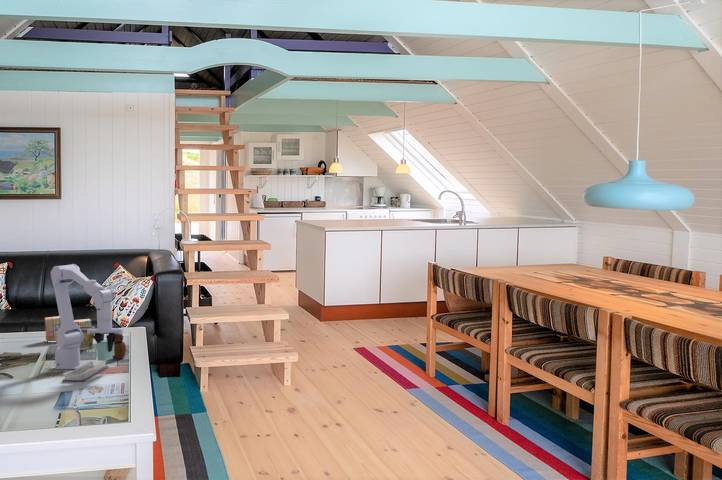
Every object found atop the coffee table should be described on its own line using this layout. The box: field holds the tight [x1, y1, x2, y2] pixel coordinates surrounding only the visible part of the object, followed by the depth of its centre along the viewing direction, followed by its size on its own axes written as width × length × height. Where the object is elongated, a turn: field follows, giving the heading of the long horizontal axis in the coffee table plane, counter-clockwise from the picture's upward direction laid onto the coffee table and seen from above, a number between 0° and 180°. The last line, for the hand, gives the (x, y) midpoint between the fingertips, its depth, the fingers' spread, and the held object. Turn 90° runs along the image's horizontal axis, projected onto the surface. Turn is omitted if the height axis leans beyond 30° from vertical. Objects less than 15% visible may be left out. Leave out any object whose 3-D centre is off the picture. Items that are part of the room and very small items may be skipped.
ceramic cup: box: [79, 325, 96, 351], centre depth 346 cm, size 13×10×10 cm
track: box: [62, 361, 109, 383], centre depth 299 cm, size 9×22×3 cm, turn 175°
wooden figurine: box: [111, 325, 127, 360], centre depth 325 cm, size 7×6×15 cm
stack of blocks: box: [44, 315, 93, 341], centre depth 368 cm, size 21×6×12 cm, turn 119°
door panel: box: [96, 338, 114, 362], centre depth 298 cm, size 3×9×7 cm, turn 175°
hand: (106, 351), depth 298 cm, fingers closed on door panel, 3 cm apart
